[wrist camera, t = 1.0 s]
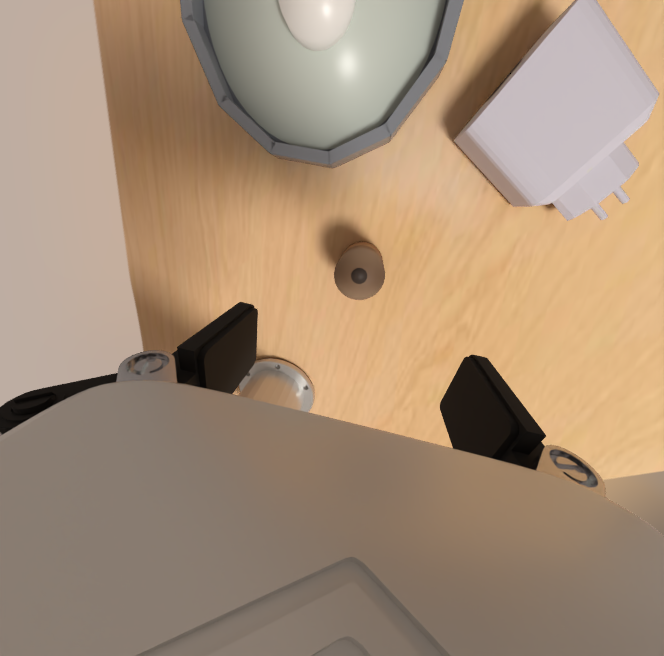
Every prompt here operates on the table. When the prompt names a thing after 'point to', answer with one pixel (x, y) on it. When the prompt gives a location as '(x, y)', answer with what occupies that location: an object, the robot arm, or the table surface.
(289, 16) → the tray
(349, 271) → the bead
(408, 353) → the table surface
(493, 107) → the charger
